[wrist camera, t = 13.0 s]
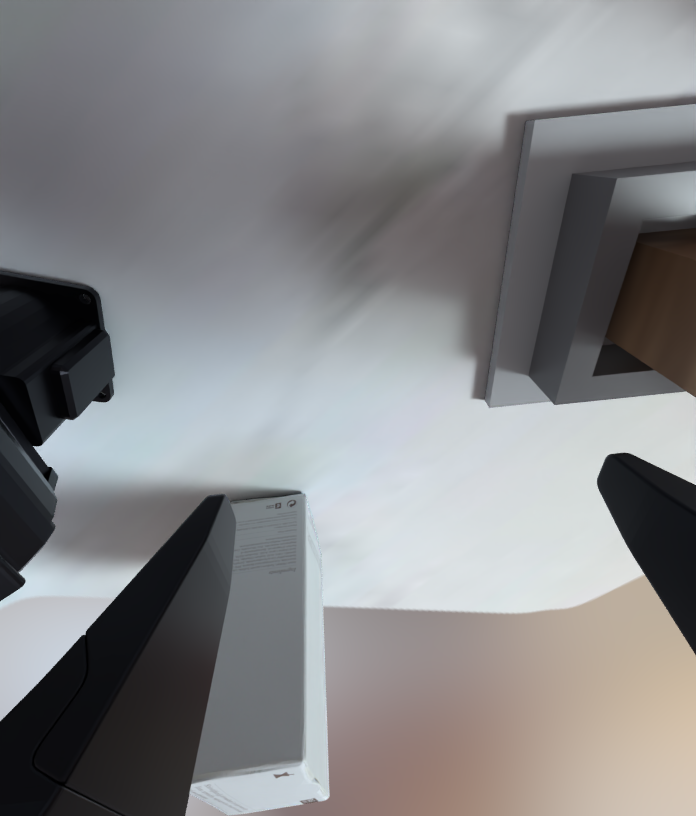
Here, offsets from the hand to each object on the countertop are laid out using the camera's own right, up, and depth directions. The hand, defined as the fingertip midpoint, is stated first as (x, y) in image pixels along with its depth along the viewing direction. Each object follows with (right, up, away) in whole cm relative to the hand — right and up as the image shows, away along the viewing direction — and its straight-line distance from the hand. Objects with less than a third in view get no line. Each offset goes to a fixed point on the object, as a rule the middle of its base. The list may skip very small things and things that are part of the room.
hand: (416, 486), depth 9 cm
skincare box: (-7, -8, +21) cm, 23 cm away
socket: (+13, +9, +11) cm, 19 cm away
